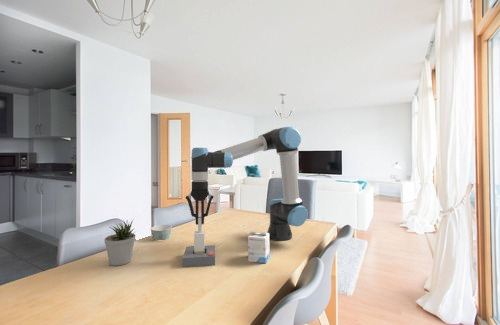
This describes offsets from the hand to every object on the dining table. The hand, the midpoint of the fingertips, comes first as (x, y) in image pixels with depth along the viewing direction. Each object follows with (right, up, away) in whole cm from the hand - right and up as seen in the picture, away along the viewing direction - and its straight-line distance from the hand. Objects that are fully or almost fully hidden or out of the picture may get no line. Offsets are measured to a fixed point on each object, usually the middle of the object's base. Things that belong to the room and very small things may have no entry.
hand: (199, 231), depth 116 cm
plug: (0, -12, 0) cm, 12 cm away
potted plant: (-35, -14, -3) cm, 38 cm away
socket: (0, -13, 0) cm, 13 cm away
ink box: (+28, -14, +1) cm, 31 cm away
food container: (-29, -13, +31) cm, 45 cm away
